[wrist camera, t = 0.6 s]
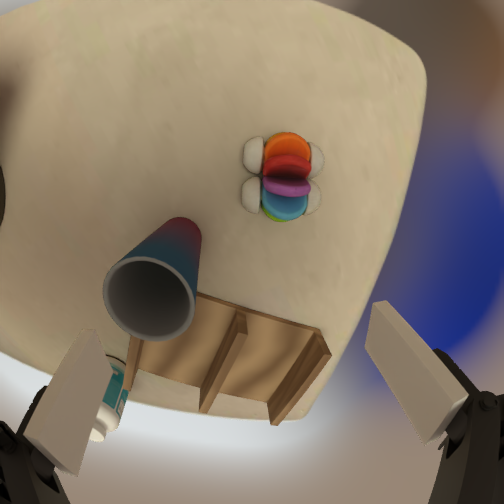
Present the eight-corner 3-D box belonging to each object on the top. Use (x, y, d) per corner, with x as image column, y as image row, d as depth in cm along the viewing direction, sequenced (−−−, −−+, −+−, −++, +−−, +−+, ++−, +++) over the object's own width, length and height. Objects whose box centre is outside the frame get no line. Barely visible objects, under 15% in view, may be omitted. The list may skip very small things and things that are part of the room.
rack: (132, 361, 38) (122, 388, 32) (152, 275, 33) (138, 299, 28) (272, 399, 43) (277, 425, 37) (319, 329, 38) (332, 355, 32)
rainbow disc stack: (318, 137, 29) (342, 134, 22) (311, 218, 32) (332, 236, 26) (243, 130, 28) (248, 123, 22) (239, 215, 32) (242, 233, 25)
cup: (212, 262, 33) (202, 340, 19) (158, 267, 33) (118, 342, 19) (205, 206, 31) (185, 251, 17) (148, 213, 30) (91, 261, 16)
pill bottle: (85, 358, 37) (54, 416, 25) (116, 349, 37) (87, 415, 24) (110, 388, 40) (89, 447, 27) (142, 382, 39) (124, 447, 27)
